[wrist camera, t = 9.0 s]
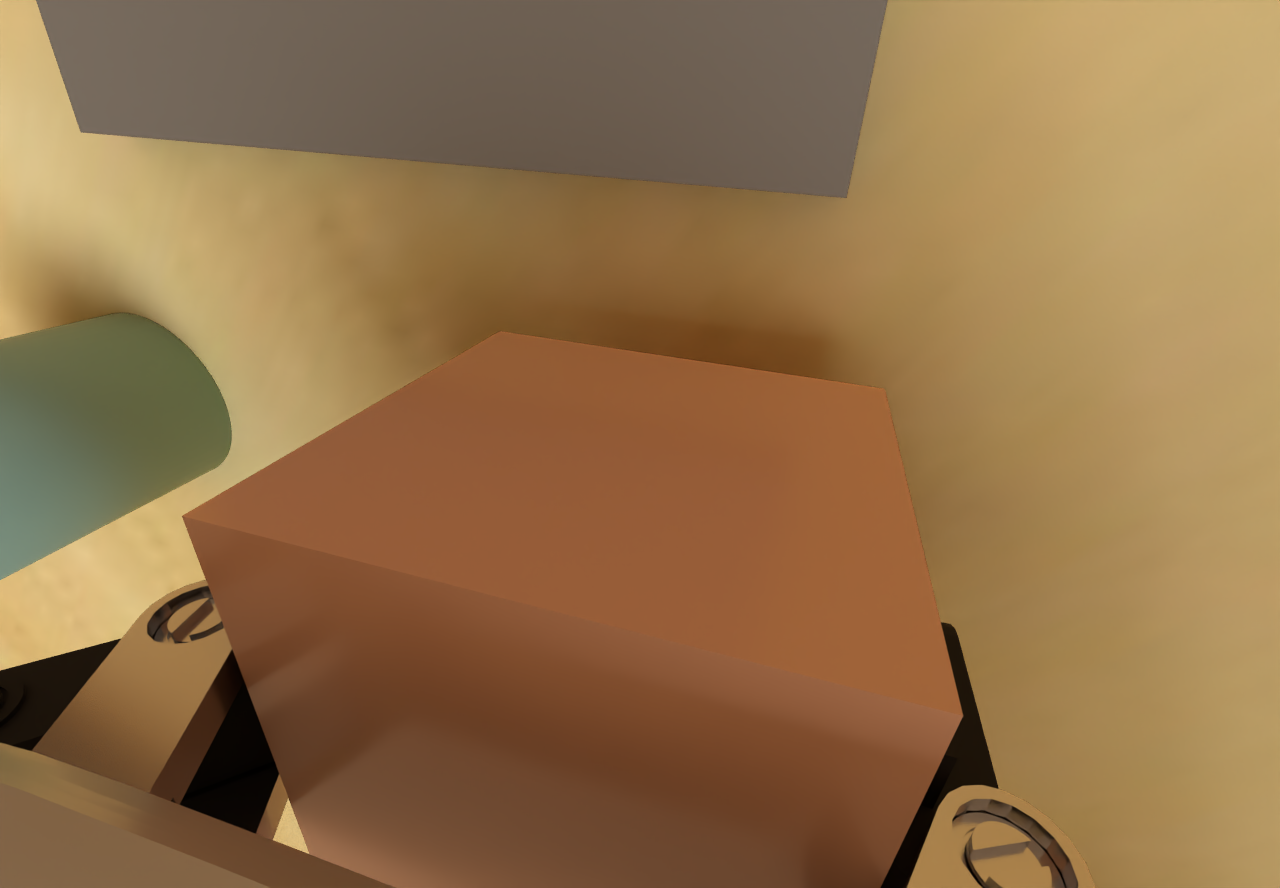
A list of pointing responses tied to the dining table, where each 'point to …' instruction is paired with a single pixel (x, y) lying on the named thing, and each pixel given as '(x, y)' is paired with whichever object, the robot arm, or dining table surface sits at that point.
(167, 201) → the dining table surface
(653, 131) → the board
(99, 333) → the cylinder
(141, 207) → the dining table surface
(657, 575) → the block
